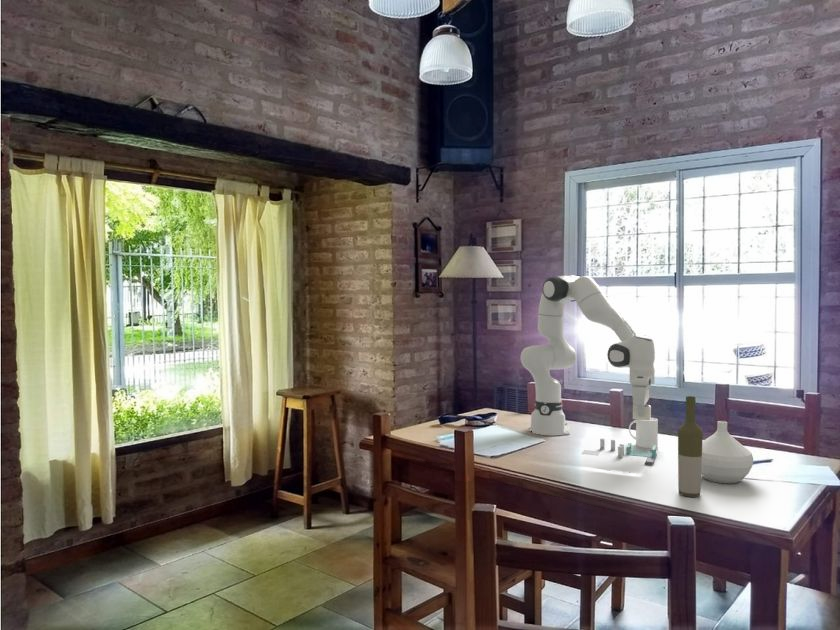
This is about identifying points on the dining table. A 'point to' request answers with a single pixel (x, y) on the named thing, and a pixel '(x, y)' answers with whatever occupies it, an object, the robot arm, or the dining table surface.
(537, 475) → the dining table surface
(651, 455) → the end holder
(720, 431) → the vase
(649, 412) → the box
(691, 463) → the bottle
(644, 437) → the mug
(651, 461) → the board
